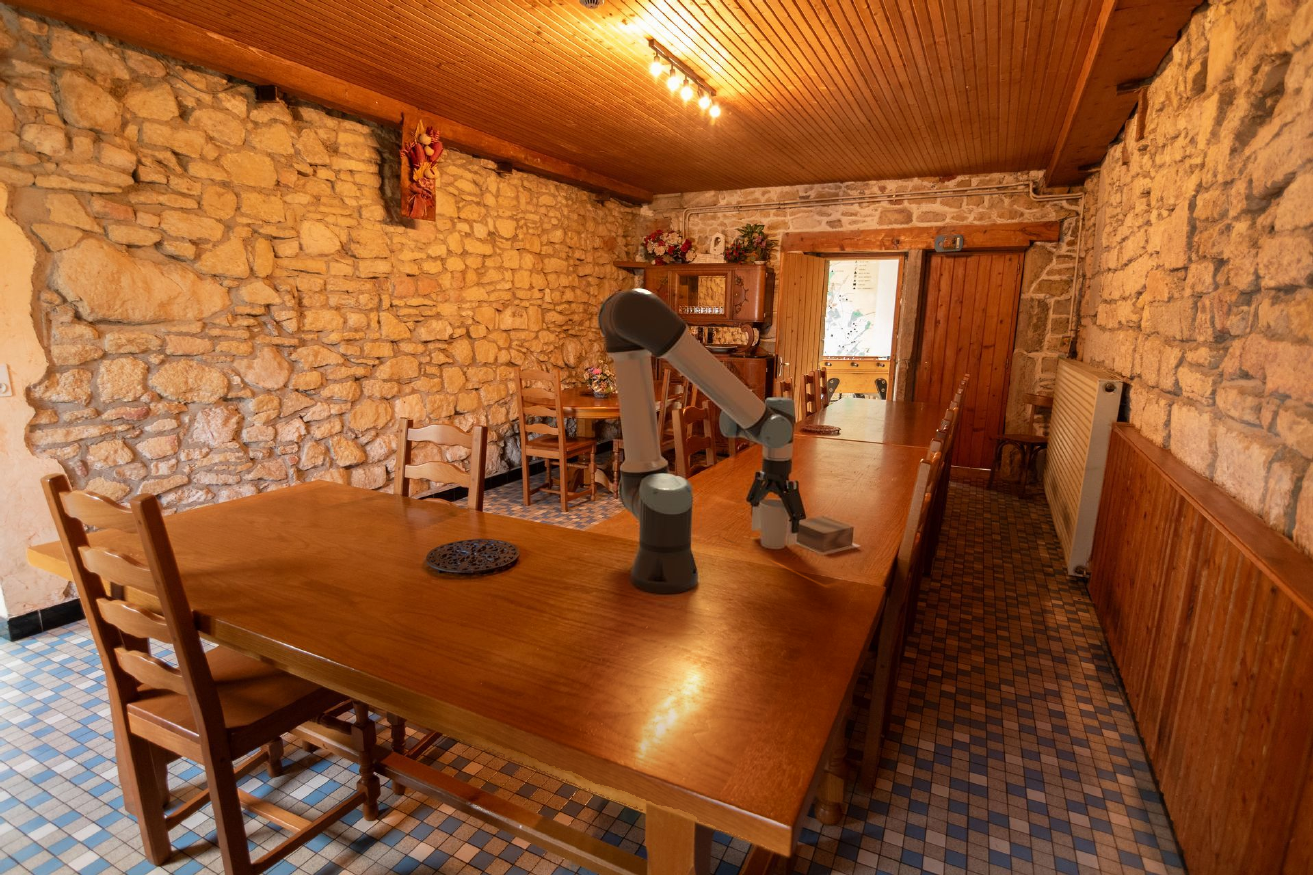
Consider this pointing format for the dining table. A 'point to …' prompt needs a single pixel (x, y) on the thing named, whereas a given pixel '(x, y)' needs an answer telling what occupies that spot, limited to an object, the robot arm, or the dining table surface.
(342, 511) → the dining table surface
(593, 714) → the dining table surface
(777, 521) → the cup
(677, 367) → the robot arm
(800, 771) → the dining table surface
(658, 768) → the dining table surface
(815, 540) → the base block
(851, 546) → the mat
